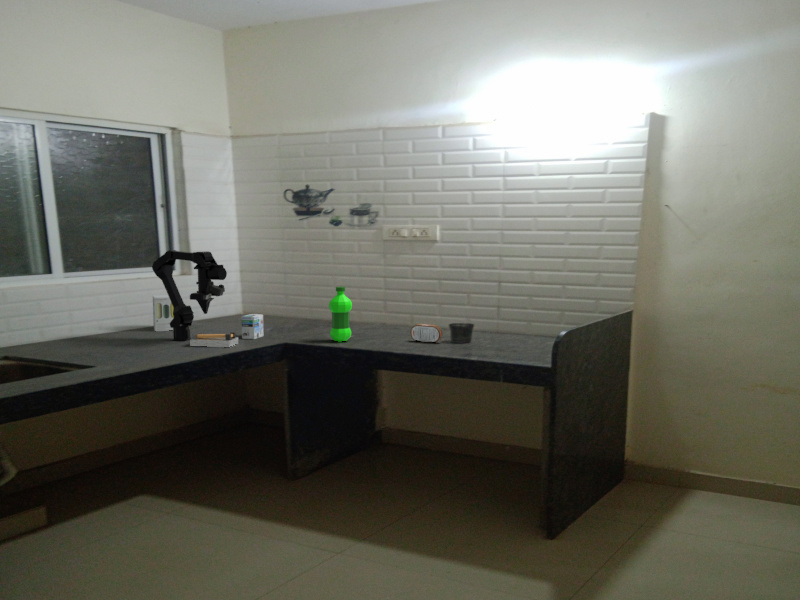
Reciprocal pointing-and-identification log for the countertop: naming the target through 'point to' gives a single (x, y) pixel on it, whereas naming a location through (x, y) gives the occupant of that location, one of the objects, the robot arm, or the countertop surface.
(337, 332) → the plastic bottle
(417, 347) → the countertop surface
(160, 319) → the supplement box
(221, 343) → the grey fixture base
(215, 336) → the bar
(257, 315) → the light bulb box
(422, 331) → the tin
